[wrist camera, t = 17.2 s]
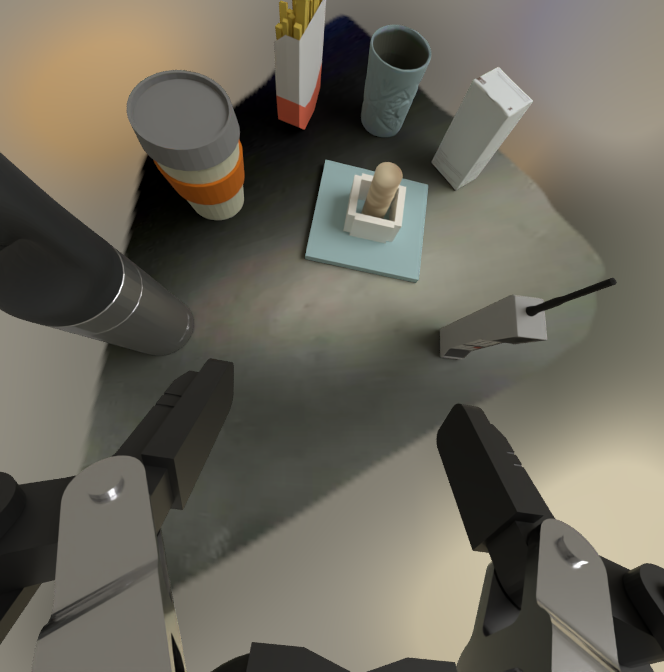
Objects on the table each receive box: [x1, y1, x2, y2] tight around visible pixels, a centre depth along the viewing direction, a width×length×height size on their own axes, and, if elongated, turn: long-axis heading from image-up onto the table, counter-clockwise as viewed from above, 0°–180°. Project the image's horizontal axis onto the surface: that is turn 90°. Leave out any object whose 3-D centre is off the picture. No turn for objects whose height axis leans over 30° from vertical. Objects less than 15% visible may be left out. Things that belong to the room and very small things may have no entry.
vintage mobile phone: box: [440, 278, 616, 359], centre depth 34 cm, size 4×5×25 cm
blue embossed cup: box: [361, 25, 431, 137], centre depth 49 cm, size 10×10×12 cm
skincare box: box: [431, 67, 533, 190], centre depth 47 cm, size 8×6×15 cm
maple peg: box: [361, 162, 403, 219], centre depth 43 cm, size 4×4×10 cm
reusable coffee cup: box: [127, 70, 244, 220], centre depth 40 cm, size 12×13×15 cm
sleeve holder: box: [305, 160, 428, 283], centre depth 47 cm, size 20×20×6 cm
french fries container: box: [274, 0, 326, 130], centre depth 44 cm, size 5×11×18 cm, turn 160°
